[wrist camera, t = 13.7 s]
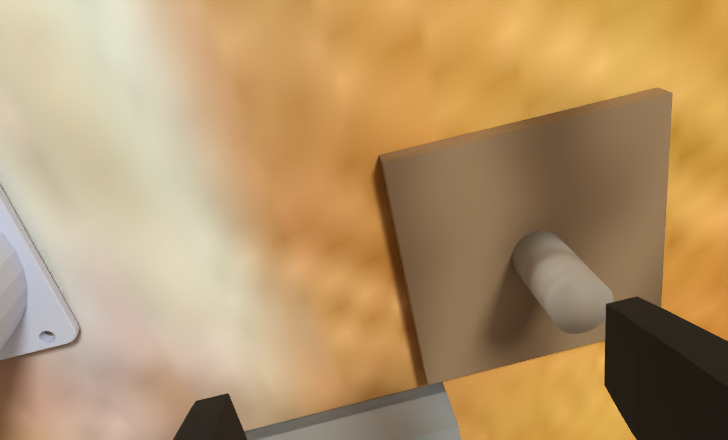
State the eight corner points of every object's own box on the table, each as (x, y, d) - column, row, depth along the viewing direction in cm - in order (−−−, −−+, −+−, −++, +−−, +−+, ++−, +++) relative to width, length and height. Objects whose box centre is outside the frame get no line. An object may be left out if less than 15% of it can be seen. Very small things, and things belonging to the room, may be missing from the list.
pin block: (423, 372, 23) (450, 454, 19) (378, 155, 19) (403, 206, 15) (648, 315, 23) (719, 385, 20) (657, 87, 19) (752, 120, 15)
